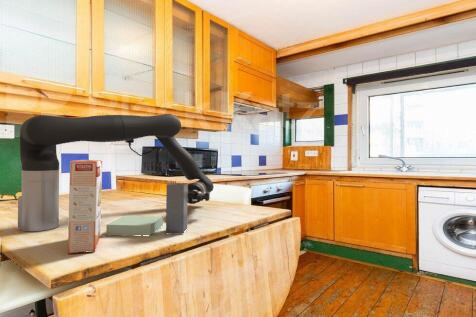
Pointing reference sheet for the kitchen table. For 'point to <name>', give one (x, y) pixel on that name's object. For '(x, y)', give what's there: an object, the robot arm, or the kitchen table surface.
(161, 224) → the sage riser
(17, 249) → the kitchen table surface
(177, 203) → the block
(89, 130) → the robot arm
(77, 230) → the cracker box
